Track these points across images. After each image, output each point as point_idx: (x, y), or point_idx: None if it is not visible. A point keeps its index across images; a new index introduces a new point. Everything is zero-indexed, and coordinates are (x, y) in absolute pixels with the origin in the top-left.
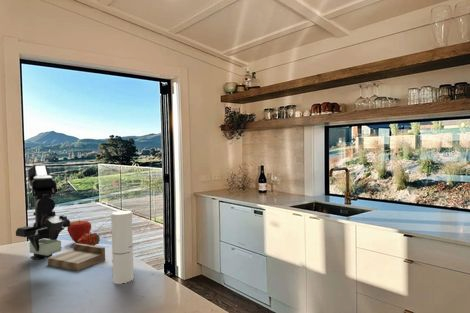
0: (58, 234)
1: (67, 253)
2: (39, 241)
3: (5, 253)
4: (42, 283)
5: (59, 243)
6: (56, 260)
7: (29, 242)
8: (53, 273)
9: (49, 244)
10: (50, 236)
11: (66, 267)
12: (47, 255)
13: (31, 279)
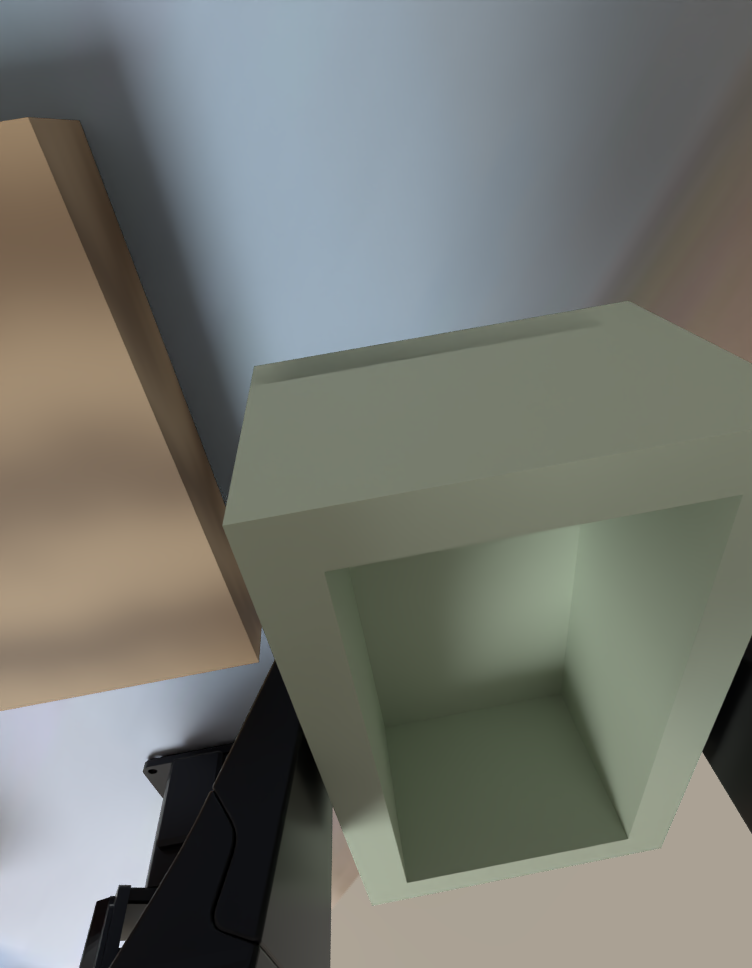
0: (145, 927)
1: (43, 652)
2: (483, 836)
3: (337, 897)
4: (593, 114)
5: (293, 461)
6: (217, 555)
7: (659, 844)
8: (340, 345)
9: (708, 430)
10: (325, 911)
11: (169, 369)
12: (189, 760)
13: None
